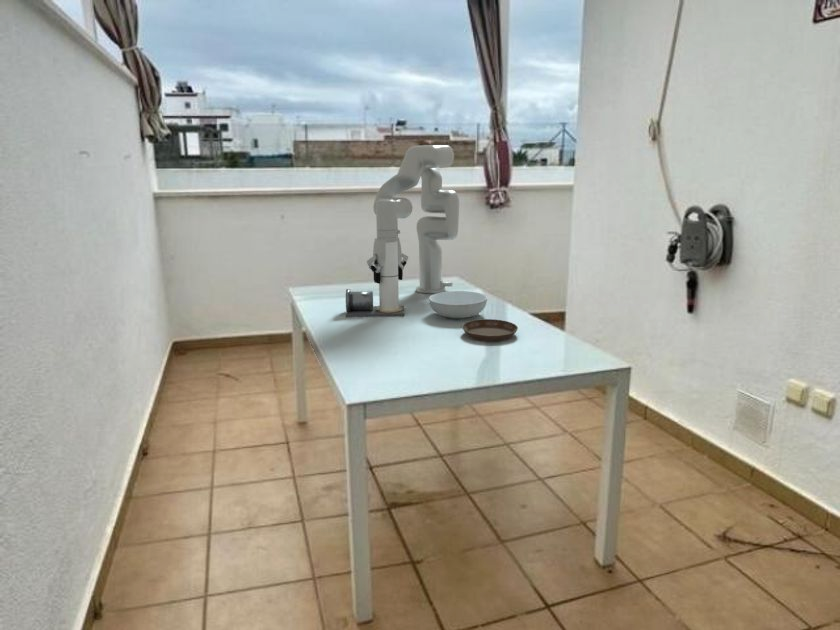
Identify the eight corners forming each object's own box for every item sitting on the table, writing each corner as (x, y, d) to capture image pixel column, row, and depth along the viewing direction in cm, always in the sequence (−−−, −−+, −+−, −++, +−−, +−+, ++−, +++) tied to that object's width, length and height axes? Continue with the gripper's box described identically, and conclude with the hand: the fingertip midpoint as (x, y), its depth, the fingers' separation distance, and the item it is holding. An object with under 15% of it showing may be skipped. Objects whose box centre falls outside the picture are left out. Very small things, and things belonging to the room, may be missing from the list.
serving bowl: (423, 310, 222) (423, 292, 220) (477, 307, 226) (477, 289, 224) (436, 325, 202) (436, 305, 200) (494, 321, 206) (495, 301, 204)
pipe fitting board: (404, 308, 225) (403, 285, 223) (404, 316, 213) (403, 291, 211) (348, 309, 225) (347, 285, 222) (345, 317, 213) (344, 292, 211)
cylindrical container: (391, 311, 214) (390, 243, 208) (375, 309, 218) (373, 241, 211) (402, 307, 220) (401, 240, 214) (386, 305, 224) (385, 239, 217)
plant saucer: (516, 345, 180) (517, 335, 179) (459, 342, 183) (459, 333, 182) (518, 329, 197) (518, 320, 196) (465, 326, 200) (465, 318, 199)
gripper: (401, 231, 220) (402, 276, 224) (361, 235, 210) (362, 282, 214) (412, 233, 214) (413, 279, 218) (372, 237, 204) (373, 286, 208)
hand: (388, 281), depth 216 cm, fingers open, 9 cm apart
